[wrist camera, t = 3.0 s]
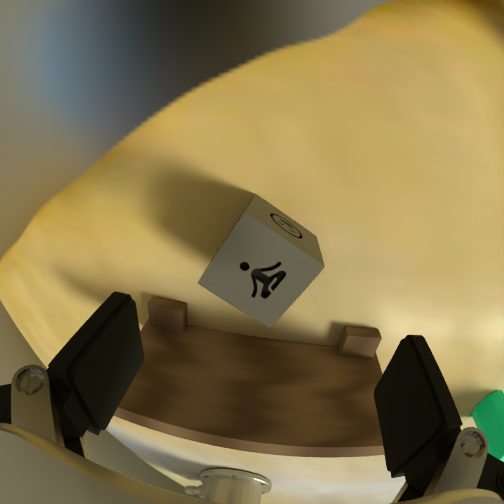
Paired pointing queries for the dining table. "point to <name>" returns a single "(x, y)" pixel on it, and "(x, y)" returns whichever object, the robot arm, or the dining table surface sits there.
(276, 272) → the dice cube
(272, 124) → the dining table surface
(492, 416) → the candle
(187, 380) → the walnut screen
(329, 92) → the dining table surface
